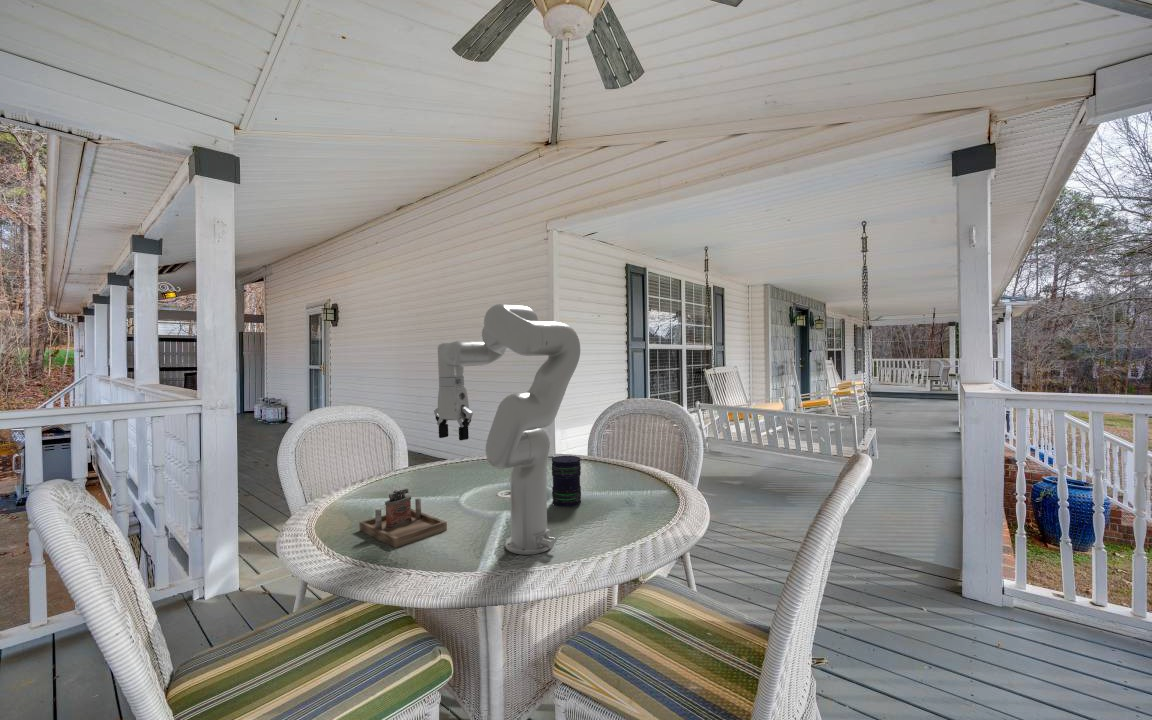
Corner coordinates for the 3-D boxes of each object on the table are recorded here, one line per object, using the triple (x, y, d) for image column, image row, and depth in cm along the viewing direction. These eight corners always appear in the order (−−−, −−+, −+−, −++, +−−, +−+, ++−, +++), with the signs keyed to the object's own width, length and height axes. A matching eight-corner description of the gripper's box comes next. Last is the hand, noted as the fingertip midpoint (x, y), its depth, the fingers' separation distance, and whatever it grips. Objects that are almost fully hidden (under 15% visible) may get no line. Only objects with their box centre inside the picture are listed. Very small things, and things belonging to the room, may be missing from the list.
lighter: (389, 529, 139) (388, 494, 139) (383, 527, 141) (382, 492, 141) (414, 521, 145) (413, 488, 145) (407, 519, 147) (406, 486, 147)
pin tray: (446, 530, 141) (446, 505, 141) (395, 547, 129) (394, 520, 129) (409, 515, 154) (409, 492, 154) (359, 530, 142) (359, 505, 142)
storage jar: (547, 500, 167) (547, 457, 167) (573, 496, 171) (573, 454, 171) (559, 509, 158) (558, 463, 158) (586, 504, 162) (585, 460, 162)
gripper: (479, 382, 148) (481, 438, 148) (444, 382, 158) (446, 434, 158) (459, 384, 142) (462, 442, 142) (424, 383, 152) (426, 438, 152)
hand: (453, 438), depth 150 cm, fingers open, 9 cm apart
